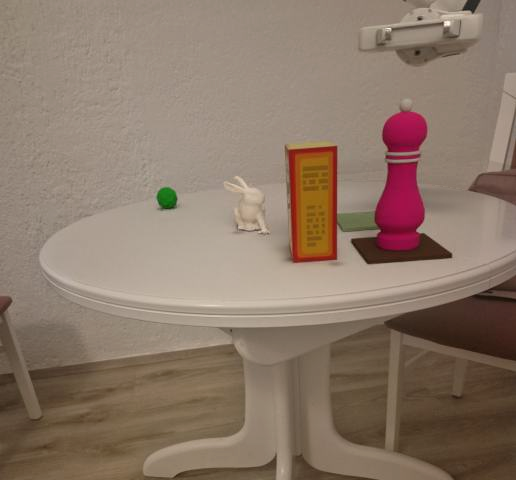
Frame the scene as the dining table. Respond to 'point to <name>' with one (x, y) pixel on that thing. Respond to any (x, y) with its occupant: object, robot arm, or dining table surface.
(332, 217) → the baking soda box
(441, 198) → the dining table surface
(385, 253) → the dark mat
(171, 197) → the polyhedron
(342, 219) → the sage mat
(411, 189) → the pepper mill
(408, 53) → the robot arm
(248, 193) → the rabbit figurine
